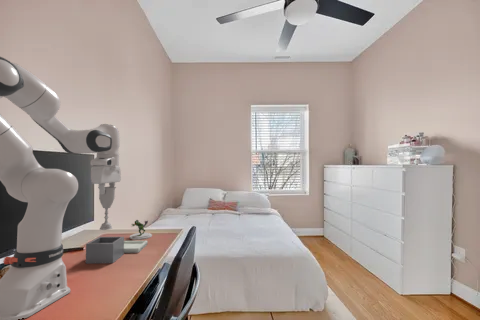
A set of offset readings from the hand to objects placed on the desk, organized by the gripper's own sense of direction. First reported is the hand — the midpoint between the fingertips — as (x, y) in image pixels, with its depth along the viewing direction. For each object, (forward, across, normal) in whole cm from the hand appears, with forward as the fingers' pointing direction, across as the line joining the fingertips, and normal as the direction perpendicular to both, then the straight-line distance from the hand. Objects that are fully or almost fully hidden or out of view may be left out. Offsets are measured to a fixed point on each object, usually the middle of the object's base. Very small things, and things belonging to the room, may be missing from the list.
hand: (106, 193), depth 112 cm
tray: (+28, -14, +5) cm, 32 cm away
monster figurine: (+28, -36, +3) cm, 46 cm away
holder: (+28, 0, 0) cm, 28 cm away
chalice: (+15, 0, 0) cm, 15 cm away
